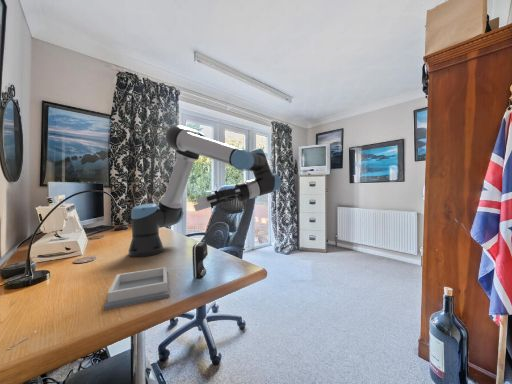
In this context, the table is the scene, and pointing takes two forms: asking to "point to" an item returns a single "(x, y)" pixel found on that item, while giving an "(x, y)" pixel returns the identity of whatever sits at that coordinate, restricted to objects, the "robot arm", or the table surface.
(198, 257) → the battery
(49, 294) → the table surface
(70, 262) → the table surface
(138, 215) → the robot arm
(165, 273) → the tray
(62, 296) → the table surface
